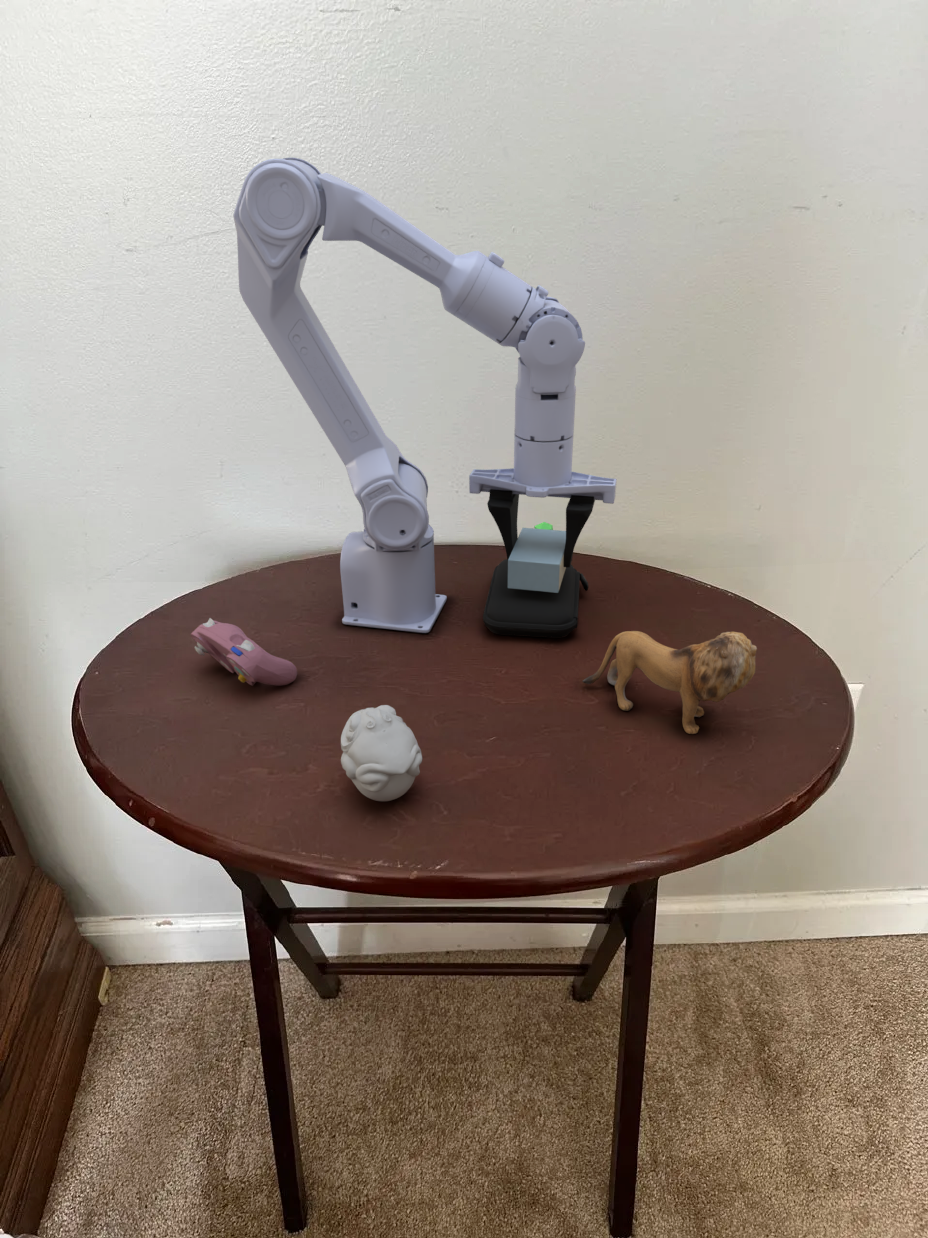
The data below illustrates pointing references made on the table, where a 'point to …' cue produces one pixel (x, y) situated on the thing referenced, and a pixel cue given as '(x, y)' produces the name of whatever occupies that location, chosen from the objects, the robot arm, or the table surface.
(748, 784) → the table surface
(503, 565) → the carrying case
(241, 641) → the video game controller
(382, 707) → the frog figurine
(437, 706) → the table surface
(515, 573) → the pale blue rectangular box
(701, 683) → the lion figurine
